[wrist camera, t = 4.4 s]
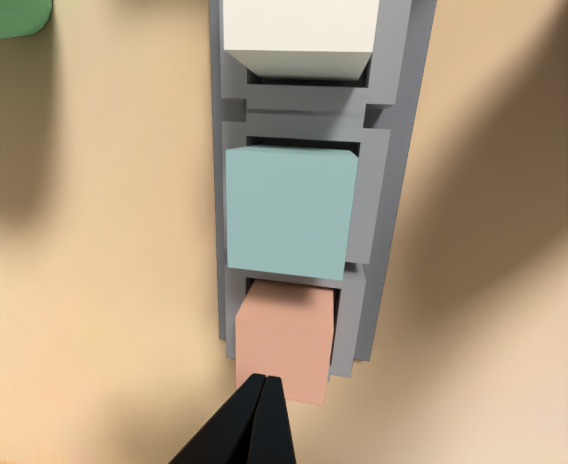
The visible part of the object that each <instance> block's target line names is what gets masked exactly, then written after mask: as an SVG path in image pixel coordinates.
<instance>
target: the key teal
mask: <svg viewBox="0 0 568 464" xmlns="http://www.w3.org/2000/svg"><path fill="white" fill-rule="evenodd" d="M358 159H359V158H358V157H357V156H356V155H355V154H353V153H352V152H351V151H350V150H344V149H328V148H311V147H294V146H277V145H261V144H259V145H253V146H246V147H240V148H234V149H227V150H226V202H227V261H228V267H230V268H238V269H247V270H256V271H264V272H273V273H281V274H290V275H298V276H307V277H315V278H324V279H332V280H341V281H342V280H343V272H344V265H345V257H346V249H347V242H348V234H349V227H350V219H351V212H352V204H353V196H354V189H355V181H356V174H357V166H358Z"/></svg>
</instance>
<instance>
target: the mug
mask: <svg viewBox="0 0 568 464" xmlns="http://www.w3.org/2000/svg"><path fill="white" fill-rule="evenodd" d="M51 9H52V0H0V39H3V38H10V37H17V36H24V35H32V34H35V33H36V32H38V31H39V30H41V29H42V28H43V27H44V25H45V24H46V22H47V21H48V20H49V17H50V13H51Z"/></svg>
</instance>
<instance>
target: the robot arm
mask: <svg viewBox="0 0 568 464" xmlns="http://www.w3.org/2000/svg"><path fill="white" fill-rule="evenodd" d="M168 464H297V463H296V458H295V452H294V446H293V441H292V435H291V429H290V424H289V418H288V412H287V407H286V401H285V395H284V390H283V384H282V379H281V377H278V376H271V375H268V376H266V375H265V374H259V373H253V374H251V375H250V376H249V377H248V378H247V380H246V381H245V382H244V383H243V384H242V385H241V386H240V387H239V388H238V389H237V390H236V391H235V392H234V394H233V395H232V396H231V397H230V398H229V399H228V400H227V401H226V402H225V403H224V404H223V405H222V406H221V407H220V409H219V410H218V411H217V412H216V413H215V414H214V415H213V416H212V417H211V418H210V419H209V420H208V421H207V423H206V424H205V425H204V426H203V427H202V428H201V429H200V430H199V431H198V432H197V433H196V434H195V435H194V436H193V438H192V439H191V440H190V441H189V442H188V443H187V444H186V445H185V446H184V447H183V448H182V449H181V450H180V452H179V453H178V454H177V455H176V456H175V457H174V458H173V459H172V460H171V461H170V462H169V463H168Z"/></svg>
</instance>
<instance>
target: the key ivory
mask: <svg viewBox="0 0 568 464" xmlns="http://www.w3.org/2000/svg"><path fill="white" fill-rule="evenodd" d="M378 7H379V0H223V26H224V50H225V51H226V52H228V53H229V54H230V55H231V56H233V57H234V58H235V59H237V60H238V61H239V62H240V63H242V64H243V65H244V66H246V67H247V68H248V69H249V70H251V71H252V72H253V73H255V74H256V75H257V76H258V77H260V78H268V79H302V80H336V81H358V80H359V78H360V76H361V74H362V72H363V70H364V68H365V66H366V64H367V62H368V60H369V58H370V56H371V54H372V52H373V45H374V38H375V30H376V23H377V15H378Z"/></svg>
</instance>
